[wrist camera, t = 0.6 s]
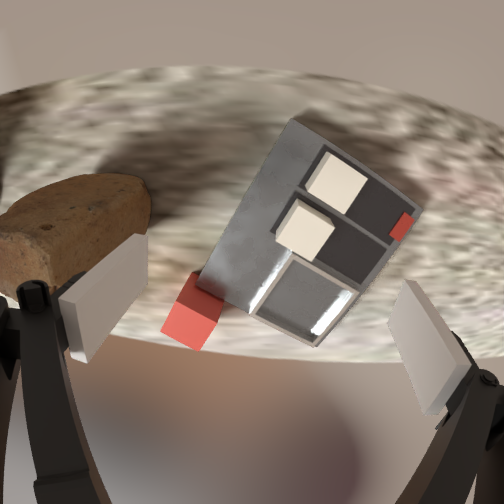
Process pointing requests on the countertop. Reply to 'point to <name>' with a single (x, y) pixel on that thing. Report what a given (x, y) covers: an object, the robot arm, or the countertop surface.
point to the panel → (292, 264)
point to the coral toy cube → (193, 315)
